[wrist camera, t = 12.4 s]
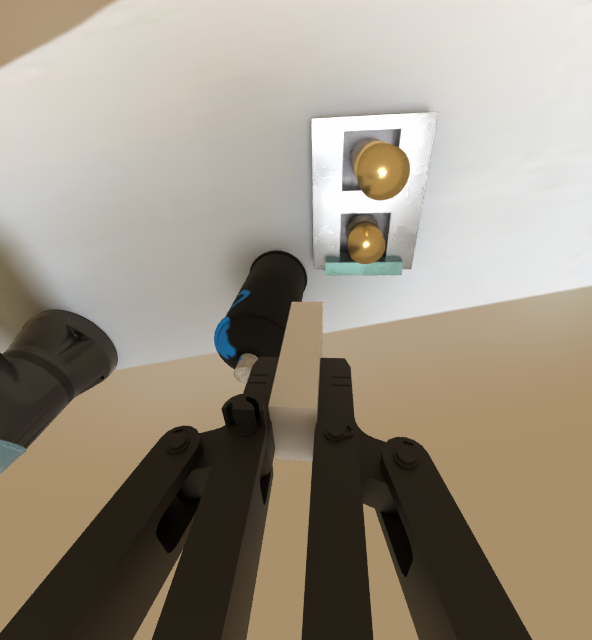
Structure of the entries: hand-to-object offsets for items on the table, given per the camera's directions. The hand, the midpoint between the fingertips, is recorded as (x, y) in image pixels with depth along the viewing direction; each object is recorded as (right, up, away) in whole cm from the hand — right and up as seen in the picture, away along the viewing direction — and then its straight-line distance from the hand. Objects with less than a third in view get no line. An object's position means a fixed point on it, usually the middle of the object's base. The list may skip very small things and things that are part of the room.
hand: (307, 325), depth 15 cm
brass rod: (+7, +18, +19) cm, 27 cm away
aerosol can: (-3, +6, +28) cm, 29 cm away
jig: (+8, +15, +21) cm, 27 cm away
